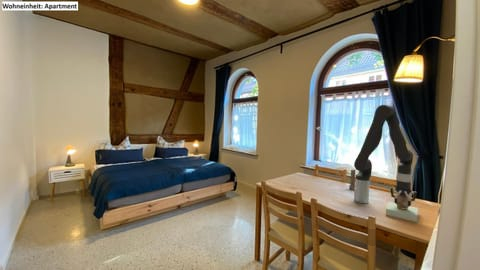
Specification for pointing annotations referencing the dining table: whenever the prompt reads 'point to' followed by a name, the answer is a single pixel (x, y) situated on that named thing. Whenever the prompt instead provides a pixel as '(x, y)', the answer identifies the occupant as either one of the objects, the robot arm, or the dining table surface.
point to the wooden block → (352, 180)
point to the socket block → (402, 212)
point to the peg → (402, 202)
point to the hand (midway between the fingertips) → (402, 204)
